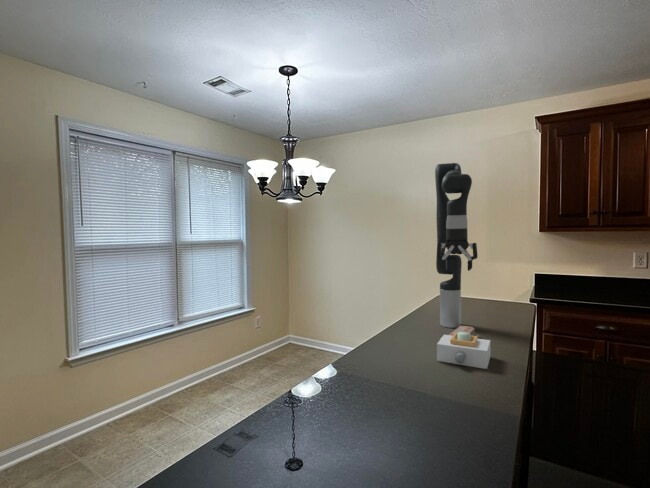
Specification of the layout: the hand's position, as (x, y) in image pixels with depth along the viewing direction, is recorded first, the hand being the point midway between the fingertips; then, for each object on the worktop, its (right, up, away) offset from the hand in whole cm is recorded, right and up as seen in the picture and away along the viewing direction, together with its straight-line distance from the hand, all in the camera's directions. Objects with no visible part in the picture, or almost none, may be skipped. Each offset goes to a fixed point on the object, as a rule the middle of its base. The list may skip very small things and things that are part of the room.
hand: (457, 270), depth 135 cm
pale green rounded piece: (-1, -31, -10) cm, 32 cm away
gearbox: (-2, -31, -11) cm, 33 cm away
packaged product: (+5, -30, +9) cm, 32 cm away
